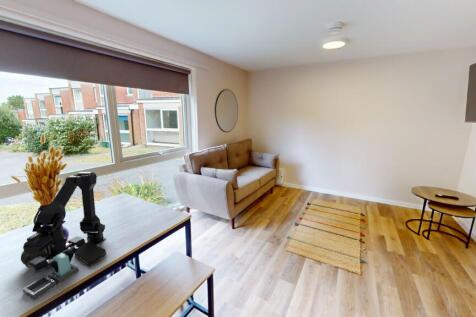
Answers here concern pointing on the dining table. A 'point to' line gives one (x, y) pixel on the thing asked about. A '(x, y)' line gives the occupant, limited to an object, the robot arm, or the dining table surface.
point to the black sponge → (90, 253)
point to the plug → (62, 264)
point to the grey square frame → (64, 277)
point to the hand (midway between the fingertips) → (62, 268)
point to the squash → (32, 257)
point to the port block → (40, 292)
